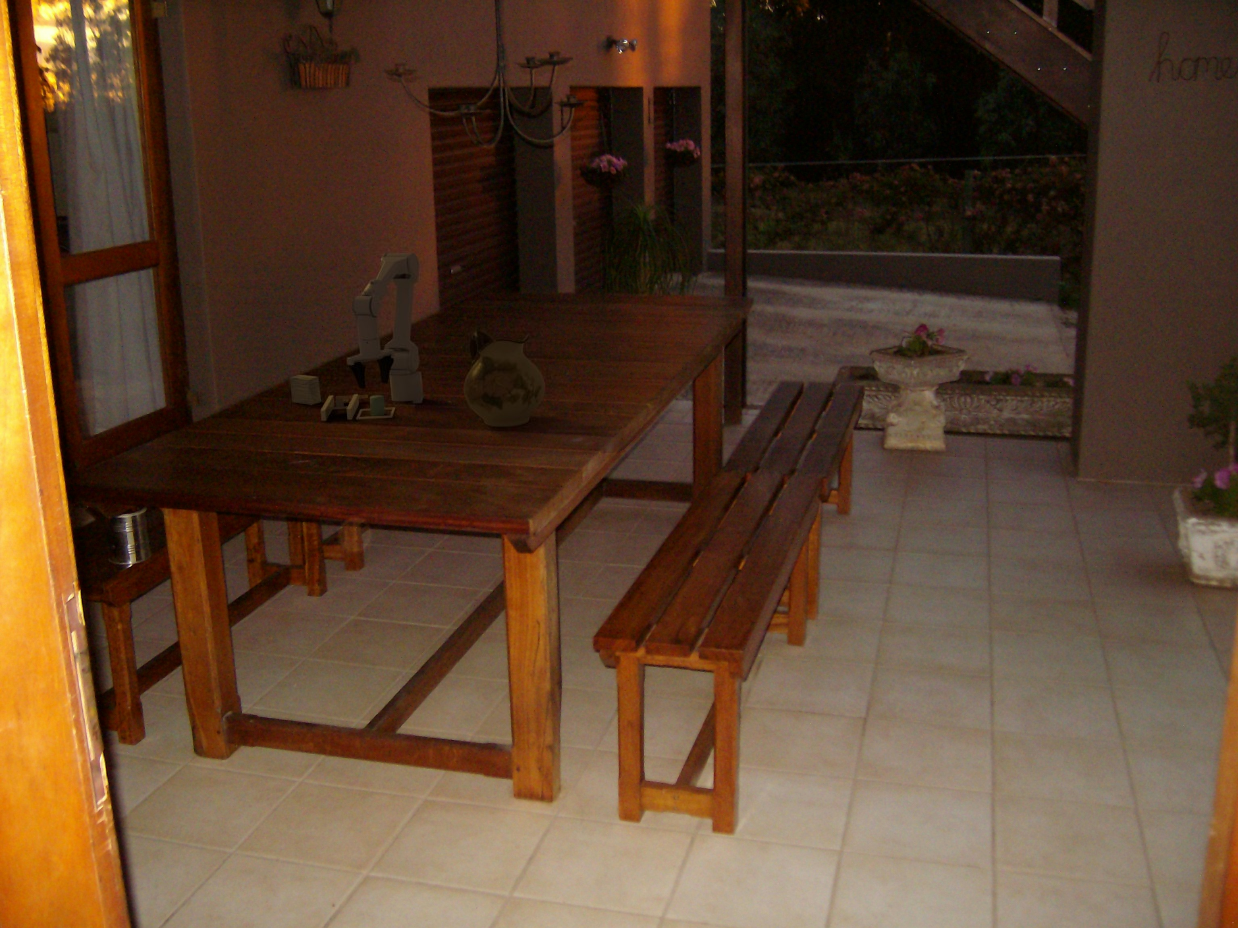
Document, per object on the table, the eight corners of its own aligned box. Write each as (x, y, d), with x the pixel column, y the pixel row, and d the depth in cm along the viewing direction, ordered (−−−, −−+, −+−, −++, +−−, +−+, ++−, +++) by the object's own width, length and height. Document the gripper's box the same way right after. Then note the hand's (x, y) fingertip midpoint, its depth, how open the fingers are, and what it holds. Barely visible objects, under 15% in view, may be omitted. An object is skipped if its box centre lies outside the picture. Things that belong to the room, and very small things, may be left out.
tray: (395, 412, 358) (395, 407, 357) (392, 420, 348) (392, 415, 348) (360, 413, 357) (360, 409, 357) (356, 422, 348) (356, 417, 347)
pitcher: (534, 432, 331) (529, 340, 324) (450, 431, 335) (443, 340, 328) (555, 412, 352) (550, 326, 345) (476, 411, 356) (470, 326, 349)
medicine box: (322, 405, 369) (319, 376, 367) (311, 408, 366) (308, 379, 363) (303, 402, 374) (300, 374, 371) (292, 405, 370) (289, 377, 367)
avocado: (381, 413, 355) (380, 394, 353) (387, 416, 352) (386, 397, 350) (368, 415, 353) (367, 396, 351) (374, 418, 350) (373, 399, 348)
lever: (368, 408, 368) (367, 394, 368) (359, 407, 348) (358, 393, 348) (337, 409, 367) (336, 396, 367) (327, 409, 348) (326, 395, 348)
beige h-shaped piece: (359, 407, 365) (358, 394, 364) (352, 422, 348) (350, 408, 347) (330, 408, 364) (329, 395, 363) (321, 424, 347) (320, 410, 346)
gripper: (382, 332, 354) (386, 378, 358) (339, 341, 344) (343, 388, 348) (396, 335, 349) (400, 382, 353) (353, 344, 339) (357, 392, 343)
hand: (373, 385), depth 350 cm, fingers open, 7 cm apart
